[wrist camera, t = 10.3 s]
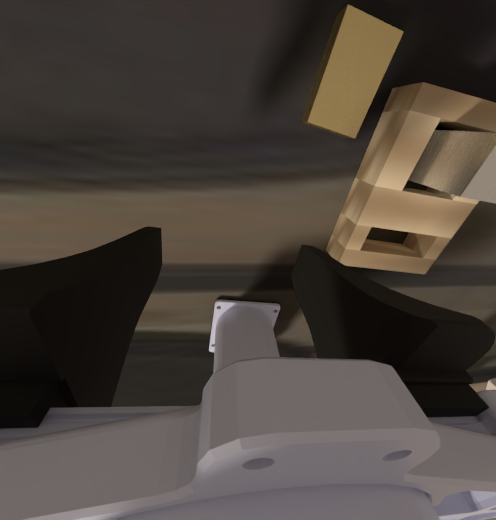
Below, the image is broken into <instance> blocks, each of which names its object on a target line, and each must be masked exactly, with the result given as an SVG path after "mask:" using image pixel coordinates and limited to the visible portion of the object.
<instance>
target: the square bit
mask: <svg viewBox="0 0 496 520" xmlns="http://www.w3.org/2000/svg"><path fill="white" fill-rule="evenodd" d="M408 180H410V181H413V182H416V183H419V184H422V185H425V186H428V187H431V188H434V189H437V190H440V191H444V192H447V193H450V194H453V195H456V196H459V197H463V198H469V199H474V200H479V201H485V202H490V203H495V204H496V133H493V132H470V131H448V130H434V132H433V134H432V136H431V138H430V140H429V141H428V143H427V145H426V147H425V149H424V151H423V153H422V154H421V156H420V158H419V160H418V162H417V164H416V166H415V167H414V169H413V171H412V173H411V175H410V177H409V179H408Z"/></svg>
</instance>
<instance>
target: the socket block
mask: <svg viewBox="0 0 496 520" xmlns="http://www.w3.org/2000/svg"><path fill="white" fill-rule="evenodd" d="M437 125H438V126H442V127H446V128H450V129H454V130H458V131H470V132H493V133H496V103H495V102H491V101H488V100H484V99H481V98H477V97H474V96H470V95H467V94H463V93H460V92H456V91H453V90H449V89H446V88H442V87H439V86H435V85H432V84H428V83H425V82H421V83H416V84H411V85H406V86H401V87H396V88H392V91H391V93H390V96H389V98H388V100H387V103H386V105H385V108H384V110H383V112H382V115H381V117H380V120H379V122H378V124H377V127H376V129H375V132H374V134H373V136H372V139H371V141H370V144H369V146H368V148H367V151H366V153H365V156H364V158H363V161H362V163H361V165H360V168H359V170H358V173H357V175H356V177H355V180H354V182H353V185H352V187H351V189H350V192H349V194H348V197H347V199H346V201H345V204H344V206H343V209H342V211H341V214H340V216H339V218H338V221H337V223H336V226H335V228H334V230H333V233H332V235H331V238H330V240H329V242H328V245H327V247H326V251H327V252H328V253H329V255H330V256H331V257H332V258H334V259H335V260H337V261H339V262H340V263H342V264H343V265H345V266H353V267H362V268H372V269H381V270H390V271H400V272H409V273H418V274H426V272H427V271H428V270H429V268H430V267H431V265H432V264H433V263H434V261H435V260H436V259H437V257H438V256H439V255H440V253H441V252H442V251H443V249H444V248H445V246H446V245H447V244H448V242H449V241H450V240H451V238H452V237H453V236H454V234H455V233H456V231H457V230H458V229H459V227H460V226H461V225H462V223H463V222H464V221H465V219H466V218H467V217H468V215H469V214H470V212H471V211H472V210H473V208H474V207H475V206H476V204H477V203H478V202H479V200H474V199H469V198H463V197H459V196H456V195H453V194H450V193H447V192H444V191H440V190H437V189H434V188H431V187H427V189H426V190H419V189H414V188H408V187H404V186H405V184H406V182H407V181H408V179H409V177H410V175H411V173H412V171H413V169H414V167H415V166H416V164H417V162H418V160H419V158H420V156H421V154H422V153H423V151H424V149H425V147H426V145H427V143H428V141H429V140H430V138H431V136H432V134H433V132H434V130H435V128H436V127H437ZM371 227H376V228H383V229H390V230H397V231H404V232H409V234H408V235H407V237H406V239H405V240H404V242H403V243H402V244H400V243H392V242H385V241H377V240H370V239H366V237H367V235H368V233H369V231H370V229H371Z"/></svg>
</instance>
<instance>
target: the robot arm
mask: <svg viewBox="0 0 496 520" xmlns="http://www.w3.org/2000/svg"><path fill="white" fill-rule="evenodd" d="M161 266H162V242H161V228H156V227H144V228H142V229H139V230H137V231H135V232H133V233H131V234H128V235H126V236H124V237H122V238H120V239H117V240H115V241H112V242H110V243H107V244H105V245H102V246H100V247H97V248H95V249H92V250H89V251H86V252H82V253H79V254H76V255H72V256H69V257H65V258H60V259H56V260H52V261H47V262H43V263H38V264H33V265H28V266H22V267H16V268H10V269H3V270H0V520H484V519H490V518H496V390H483V391H480V392H477V393H476V392H475V391H474V390H473V389H472V388H471V387H470V385H469V384H471V383H472V382H473V378H472V377H471V376H470V375H469V374H468V373H467V372H466V370H467V369H468V368H469V367H471V366H472V365H473V364H474V363H475V362H477V361H478V360H479V359H480V358H481V357H483V356H484V355H485V354H486V353H487V352H488V351H489V350H490V349H491V347H492V346H493V344H494V341H495V333H494V330H492V329H491V328H490V327H489V326H487V325H486V324H485V323H484V322H482V321H481V320H479V319H477V318H475V317H473V316H470V315H466V314H463V313H459V312H456V311H452V310H449V309H445V308H441V307H438V306H435V305H432V304H429V303H426V302H423V301H420V300H417V299H414V298H411V297H409V296H406V295H403V294H401V293H399V292H396V291H394V290H391V289H389V288H387V287H384V286H382V285H380V284H378V283H376V282H374V281H372V280H370V279H368V278H366V277H364V276H362V275H360V274H359V273H357V272H355V271H353V270H352V269H350V268H348V267H347V266H345V265H343V264H342V263H340V262H339V261H337V260H335V259H334V258H332V257H331V256H329V255H328V254H326V253H324V252H323V251H321V250H319V249H317V248H315V247H313V246H306V245H302V246H301V249H300V252H299V255H298V257H297V260H296V263H295V266H294V269H293V272H292V275H291V277H292V282H293V287H294V291H295V293H296V296H297V299H298V301H299V304H300V306H301V309H302V311H303V314H304V316H305V318H306V321H307V323H308V326H309V329H310V332H311V335H312V339H313V342H314V346H315V350H316V354H317V358H284V357H280V356H279V352H278V348H277V343H276V339H275V335H274V331H273V328H274V325H275V322H276V319H277V316H278V314H279V311H280V305H279V304H276V303H262V302H248V301H233V300H216V302H215V308H214V315H213V323H212V330H211V338H210V345H209V351H210V352H214V374H213V375H212V376H211V378H210V379H209V381H208V382H207V384H206V385H205V387H204V389H203V396H202V403H200V405H198V406H153V407H111V405H112V401H113V397H114V394H115V390H116V387H117V384H118V380H119V377H120V374H121V370H122V367H123V364H124V361H125V357H126V354H127V351H128V348H129V345H130V342H131V339H132V336H133V333H134V330H135V328H136V325H137V322H138V320H139V317H140V315H141V313H142V311H143V309H144V307H145V305H146V303H147V301H148V299H149V296H150V294H151V292H152V290H153V288H154V286H155V284H156V282H157V279H158V276H159V273H160V270H161ZM218 306H220V307H218ZM274 310H276V311H274Z"/></svg>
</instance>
